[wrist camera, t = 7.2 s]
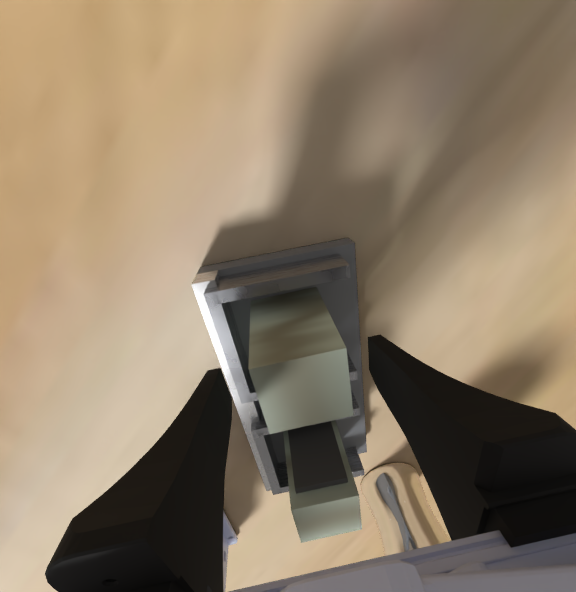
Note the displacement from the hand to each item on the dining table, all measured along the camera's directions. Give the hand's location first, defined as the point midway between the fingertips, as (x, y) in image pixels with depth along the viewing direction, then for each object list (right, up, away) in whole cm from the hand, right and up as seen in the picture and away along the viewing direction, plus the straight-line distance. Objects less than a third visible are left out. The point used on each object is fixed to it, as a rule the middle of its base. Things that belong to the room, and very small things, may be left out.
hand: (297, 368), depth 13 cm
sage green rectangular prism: (0, +2, +4) cm, 4 cm away
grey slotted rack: (0, -2, +7) cm, 8 cm away
